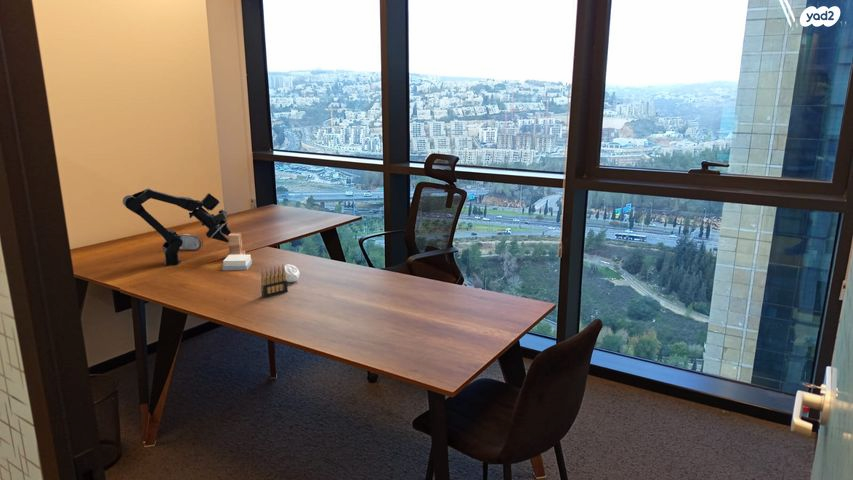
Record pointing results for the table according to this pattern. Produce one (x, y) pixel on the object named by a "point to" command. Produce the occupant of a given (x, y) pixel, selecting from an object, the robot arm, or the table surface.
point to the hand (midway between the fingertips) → (230, 239)
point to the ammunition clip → (273, 282)
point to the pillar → (235, 244)
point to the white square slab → (237, 260)
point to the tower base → (237, 267)
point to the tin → (190, 241)
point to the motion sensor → (291, 273)
